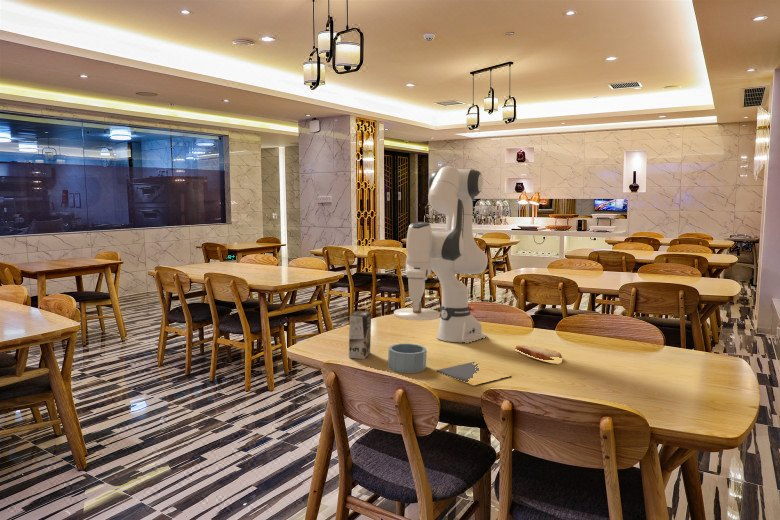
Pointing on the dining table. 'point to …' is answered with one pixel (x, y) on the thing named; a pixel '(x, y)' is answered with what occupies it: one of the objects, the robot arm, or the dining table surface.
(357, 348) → the coffee box
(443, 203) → the robot arm
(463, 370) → the mat
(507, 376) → the dining table surface
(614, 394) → the dining table surface
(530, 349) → the bread slice
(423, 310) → the lid
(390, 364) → the bowl
